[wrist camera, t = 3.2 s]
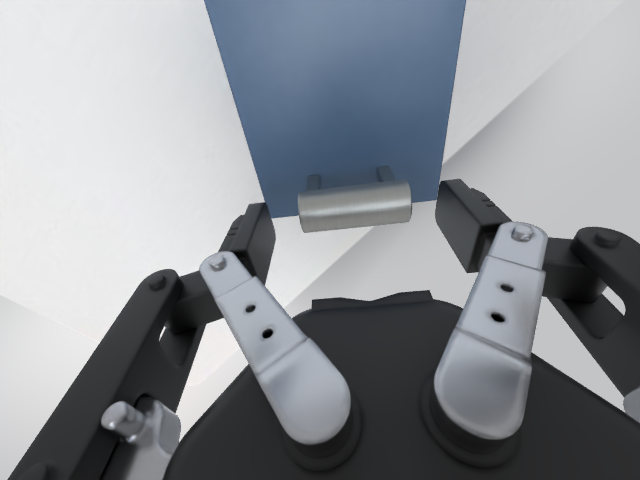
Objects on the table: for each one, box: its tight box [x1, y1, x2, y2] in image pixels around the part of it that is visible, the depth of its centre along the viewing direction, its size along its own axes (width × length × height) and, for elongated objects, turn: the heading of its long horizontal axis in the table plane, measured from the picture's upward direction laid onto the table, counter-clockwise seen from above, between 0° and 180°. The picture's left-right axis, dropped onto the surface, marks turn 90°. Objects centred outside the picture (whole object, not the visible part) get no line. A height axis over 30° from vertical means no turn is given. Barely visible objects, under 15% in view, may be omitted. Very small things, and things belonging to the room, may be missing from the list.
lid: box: [204, 0, 466, 233], centre depth 11 cm, size 12×11×5 cm
